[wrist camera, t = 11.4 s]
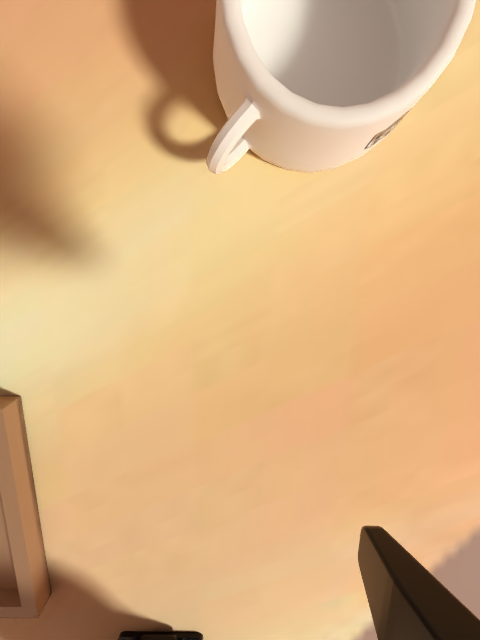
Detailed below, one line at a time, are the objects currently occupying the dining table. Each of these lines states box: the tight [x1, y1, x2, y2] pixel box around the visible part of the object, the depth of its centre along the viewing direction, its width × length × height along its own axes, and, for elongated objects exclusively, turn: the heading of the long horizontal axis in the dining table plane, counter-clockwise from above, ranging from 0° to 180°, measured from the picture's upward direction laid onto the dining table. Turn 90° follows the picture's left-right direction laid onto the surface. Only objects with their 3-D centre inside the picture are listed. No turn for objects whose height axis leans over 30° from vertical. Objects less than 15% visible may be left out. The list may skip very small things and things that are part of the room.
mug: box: [206, 0, 476, 175], centre depth 13 cm, size 12×10×6 cm
